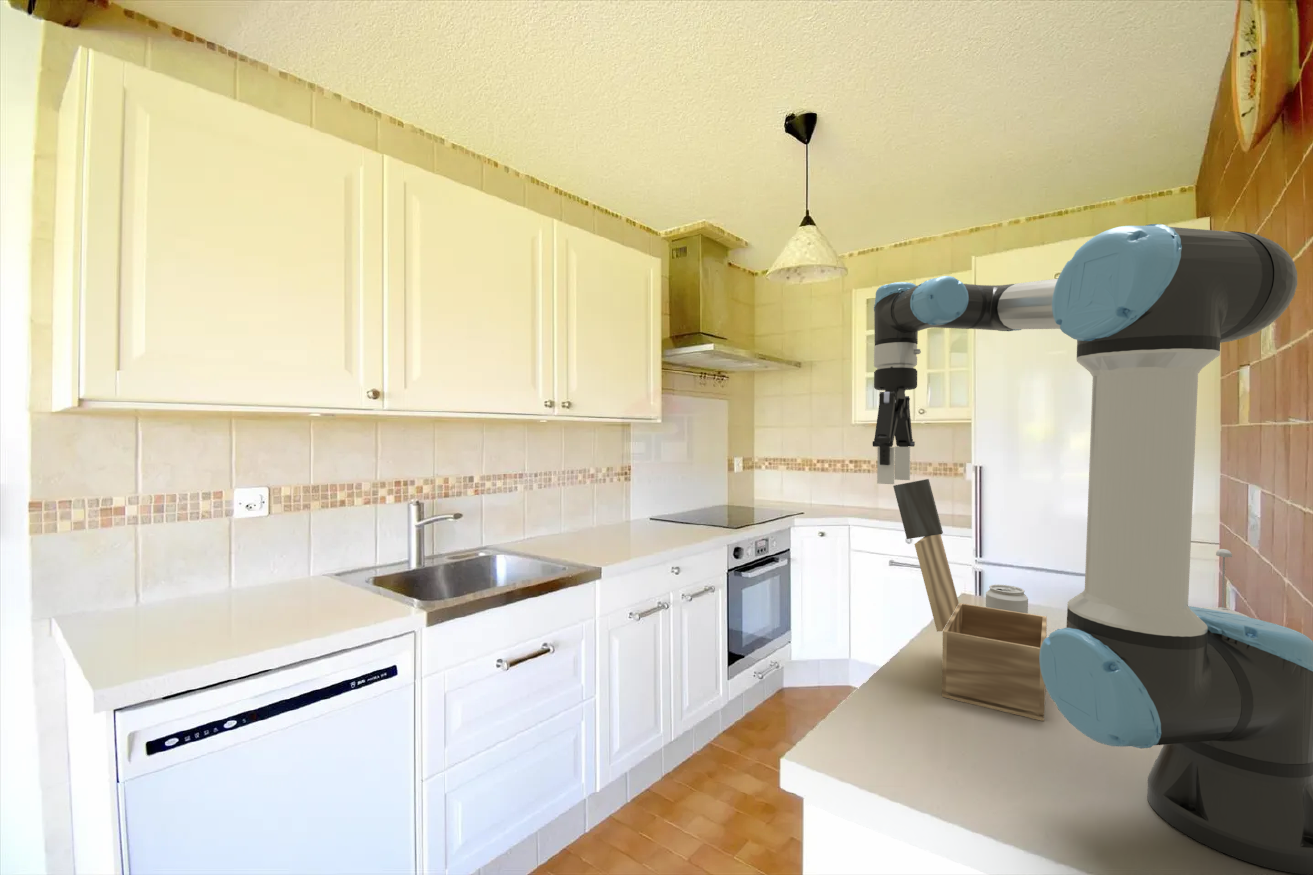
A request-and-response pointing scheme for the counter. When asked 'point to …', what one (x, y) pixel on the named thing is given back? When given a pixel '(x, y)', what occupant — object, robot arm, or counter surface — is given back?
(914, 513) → the wooden box lid
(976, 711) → the counter surface
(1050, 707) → the counter surface
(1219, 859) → the counter surface
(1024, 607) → the can
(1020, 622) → the wooden box
